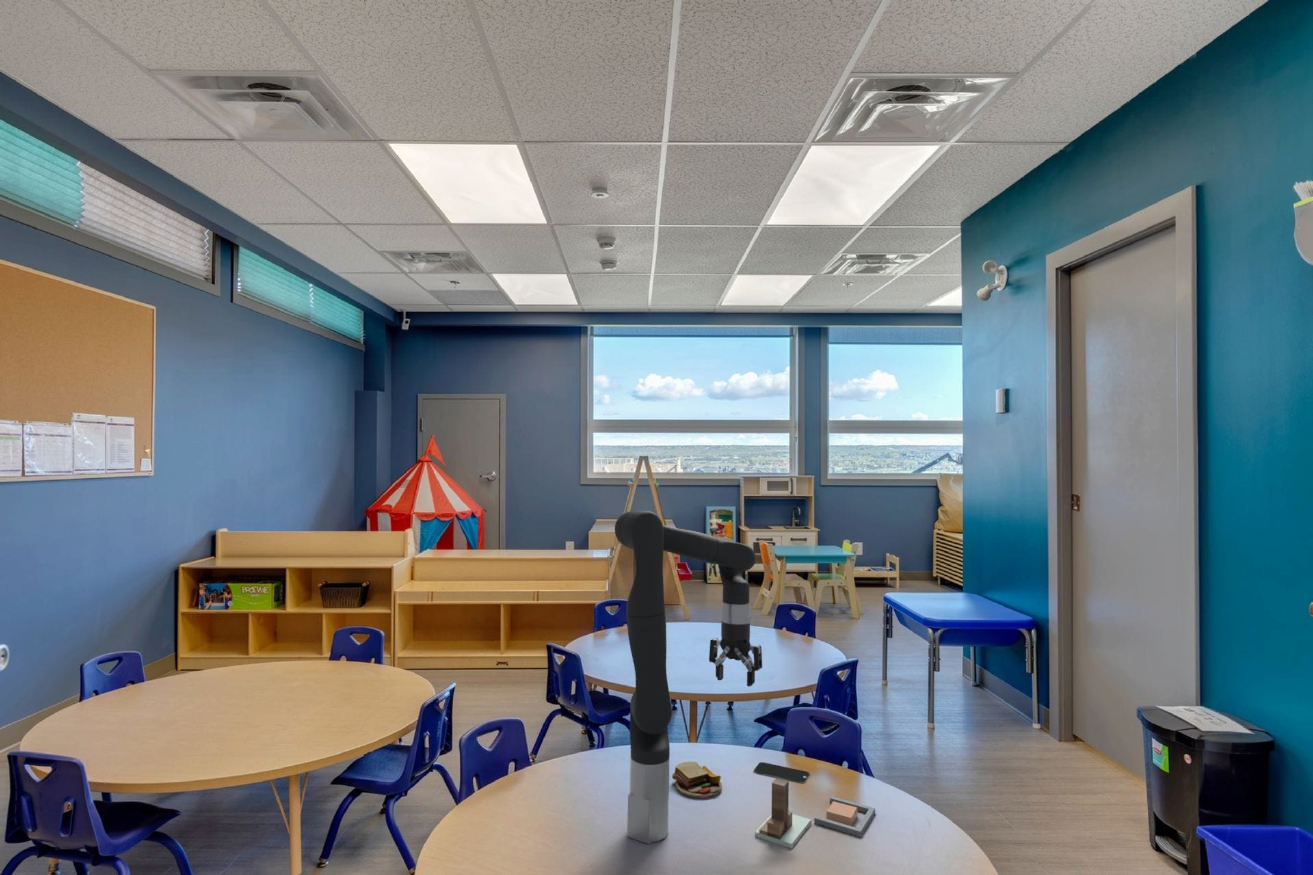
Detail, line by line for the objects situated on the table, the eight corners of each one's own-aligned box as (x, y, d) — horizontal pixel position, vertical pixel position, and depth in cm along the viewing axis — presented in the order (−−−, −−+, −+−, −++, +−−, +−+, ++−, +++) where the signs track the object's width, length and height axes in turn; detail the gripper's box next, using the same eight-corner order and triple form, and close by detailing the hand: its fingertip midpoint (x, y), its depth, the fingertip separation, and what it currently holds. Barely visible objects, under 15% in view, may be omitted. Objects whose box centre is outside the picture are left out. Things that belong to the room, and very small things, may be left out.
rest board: (791, 848, 151) (791, 843, 151) (754, 836, 156) (755, 831, 156) (811, 823, 162) (811, 819, 162) (776, 813, 167) (776, 808, 167)
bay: (860, 836, 156) (860, 831, 156) (814, 822, 162) (814, 817, 162) (875, 813, 168) (875, 808, 168) (831, 800, 174) (831, 796, 174)
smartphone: (804, 782, 183) (752, 771, 189) (804, 785, 183) (752, 773, 189) (811, 772, 190) (760, 761, 196) (811, 774, 190) (760, 763, 196)
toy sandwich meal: (690, 803, 171) (690, 784, 171) (665, 781, 183) (666, 764, 183) (731, 794, 177) (731, 775, 177) (704, 773, 189) (704, 756, 189)
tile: (851, 828, 161) (851, 817, 161) (826, 821, 164) (826, 811, 164) (857, 817, 166) (857, 807, 166) (833, 811, 169) (833, 801, 169)
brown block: (779, 839, 153) (779, 790, 153) (759, 832, 155) (759, 784, 156) (792, 824, 159) (792, 777, 160) (772, 818, 162) (772, 771, 163)
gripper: (705, 618, 176) (704, 681, 175) (754, 625, 168) (754, 691, 167) (717, 614, 182) (717, 674, 181) (766, 620, 174) (766, 684, 173)
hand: (734, 682), depth 174 cm, fingers open, 8 cm apart
